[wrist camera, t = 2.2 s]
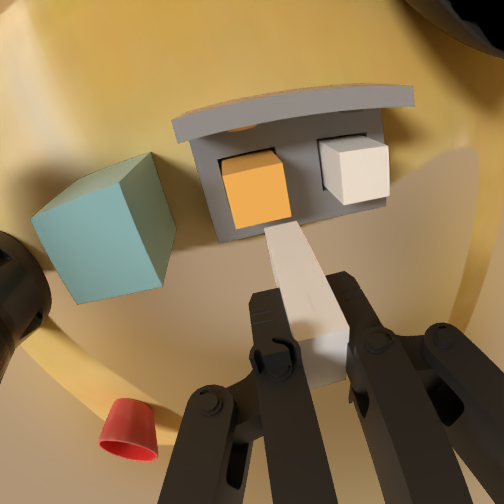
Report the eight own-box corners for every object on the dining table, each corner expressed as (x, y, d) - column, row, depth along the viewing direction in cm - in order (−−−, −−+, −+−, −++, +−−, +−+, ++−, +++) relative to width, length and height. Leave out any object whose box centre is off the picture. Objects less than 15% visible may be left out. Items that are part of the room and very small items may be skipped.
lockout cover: (107, 248, 28) (77, 304, 20) (78, 179, 23) (29, 219, 16) (176, 229, 27) (162, 286, 20) (150, 151, 23) (118, 182, 16)
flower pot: (97, 390, 41) (87, 436, 33) (154, 395, 43) (149, 445, 34) (116, 416, 47) (110, 457, 39) (166, 421, 48) (164, 463, 40)
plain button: (322, 184, 24) (343, 205, 20) (317, 140, 22) (339, 152, 18) (363, 176, 24) (389, 195, 20) (359, 134, 22) (388, 145, 18)
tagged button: (232, 203, 24) (236, 229, 20) (221, 159, 22) (222, 176, 18) (278, 193, 24) (291, 216, 20) (270, 148, 22) (282, 162, 18)
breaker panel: (218, 228, 28) (219, 277, 21) (186, 112, 22) (171, 120, 15) (372, 194, 28) (414, 230, 21) (362, 83, 22) (412, 86, 15)
